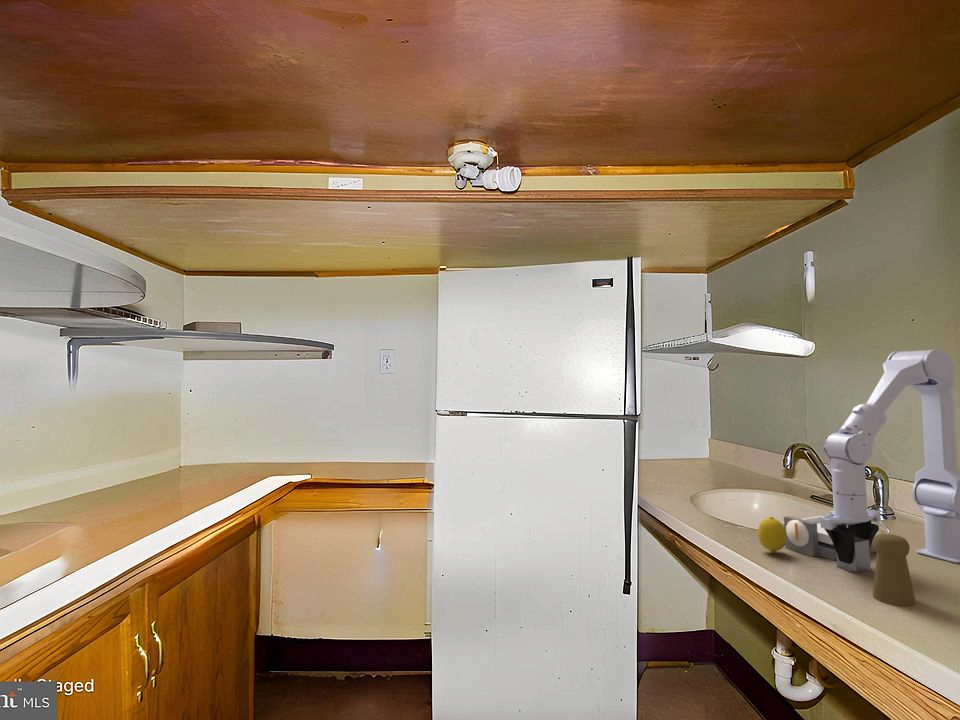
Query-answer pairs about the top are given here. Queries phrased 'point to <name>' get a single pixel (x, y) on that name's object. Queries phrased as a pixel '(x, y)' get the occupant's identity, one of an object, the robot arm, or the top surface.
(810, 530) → the kitchen scale
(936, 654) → the top surface
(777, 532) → the lemon
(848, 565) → the steel block
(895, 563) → the cork
